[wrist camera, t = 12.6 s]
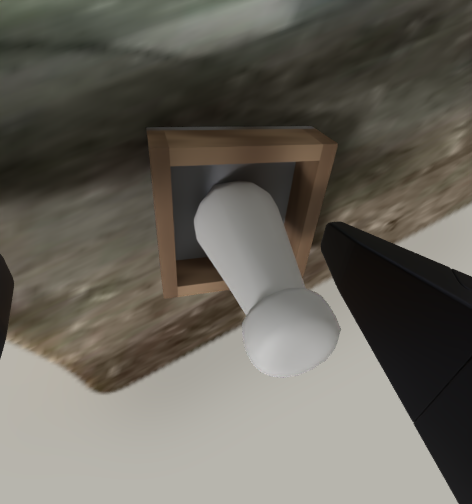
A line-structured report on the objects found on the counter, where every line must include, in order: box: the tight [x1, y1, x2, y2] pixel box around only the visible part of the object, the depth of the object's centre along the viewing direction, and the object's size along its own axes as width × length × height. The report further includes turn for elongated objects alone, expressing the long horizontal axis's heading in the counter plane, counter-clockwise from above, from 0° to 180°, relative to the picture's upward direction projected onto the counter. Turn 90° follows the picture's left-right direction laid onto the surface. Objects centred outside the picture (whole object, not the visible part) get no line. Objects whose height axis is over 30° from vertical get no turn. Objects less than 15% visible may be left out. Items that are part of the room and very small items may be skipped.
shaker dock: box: [146, 126, 338, 299], centre depth 22 cm, size 11×11×4 cm
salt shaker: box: [194, 180, 341, 378], centre depth 18 cm, size 6×6×13 cm
